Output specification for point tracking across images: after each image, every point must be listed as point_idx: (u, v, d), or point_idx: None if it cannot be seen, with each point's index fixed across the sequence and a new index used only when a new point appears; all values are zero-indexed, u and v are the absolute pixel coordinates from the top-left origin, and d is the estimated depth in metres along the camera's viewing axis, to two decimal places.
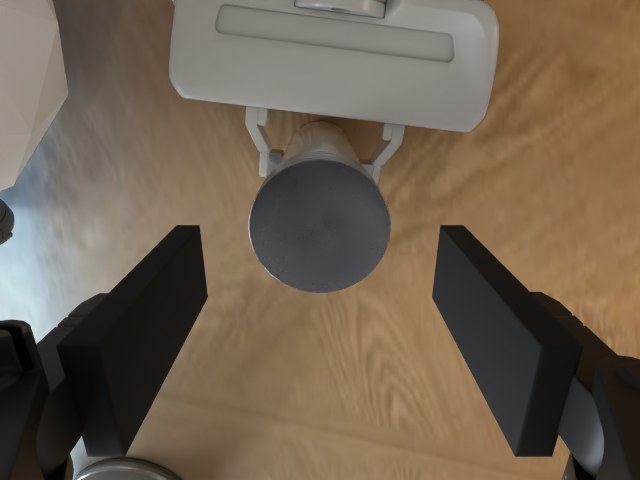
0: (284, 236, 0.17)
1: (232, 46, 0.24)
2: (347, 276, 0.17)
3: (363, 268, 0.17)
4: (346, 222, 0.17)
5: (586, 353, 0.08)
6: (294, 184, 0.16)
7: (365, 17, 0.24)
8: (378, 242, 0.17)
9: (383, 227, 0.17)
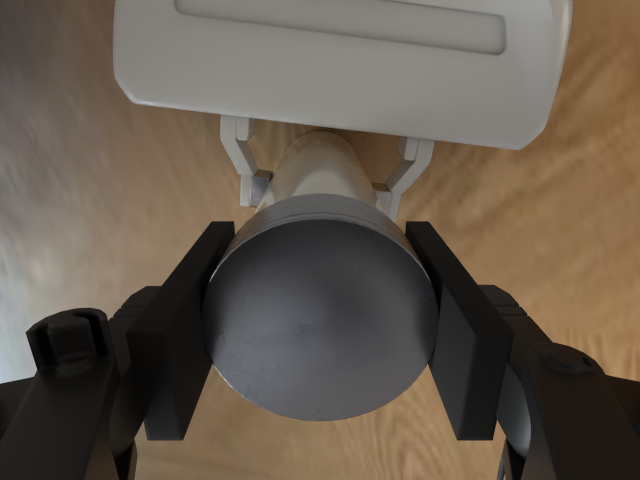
0: (262, 340, 0.10)
1: (199, 32, 0.17)
2: (365, 398, 0.11)
3: (391, 387, 0.11)
4: (366, 319, 0.10)
5: (524, 341, 0.08)
6: (276, 258, 0.09)
7: None
8: (417, 348, 0.10)
9: (427, 326, 0.10)
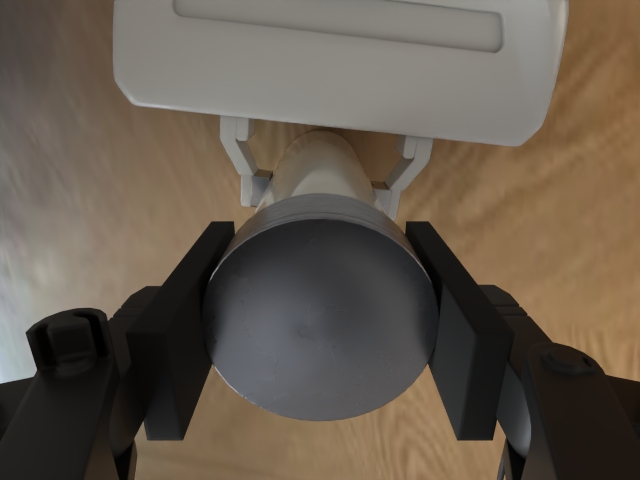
0: (349, 371, 0.10)
1: (197, 33, 0.17)
2: (387, 260, 0.09)
3: (362, 240, 0.09)
4: (289, 297, 0.10)
5: (524, 341, 0.08)
6: (264, 383, 0.11)
7: None
8: (303, 235, 0.09)
9: (272, 238, 0.09)
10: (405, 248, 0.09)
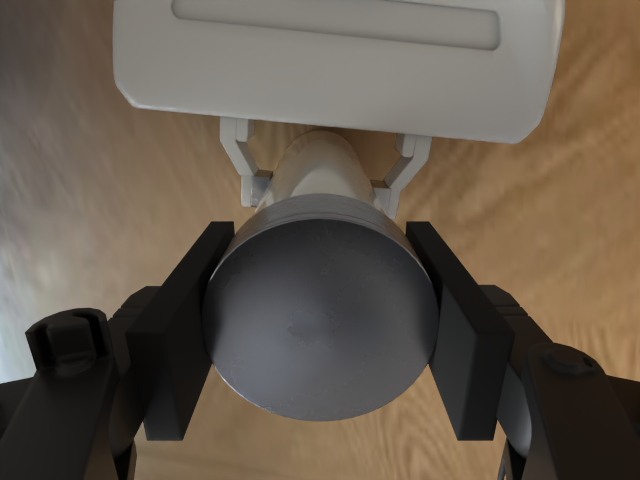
0: (357, 288, 0.10)
1: (196, 35, 0.18)
2: (223, 302, 0.10)
3: (215, 329, 0.10)
4: (295, 363, 0.10)
5: (525, 341, 0.08)
6: (400, 357, 0.10)
7: None
8: (234, 371, 0.10)
9: (248, 390, 0.11)
10: (205, 293, 0.10)
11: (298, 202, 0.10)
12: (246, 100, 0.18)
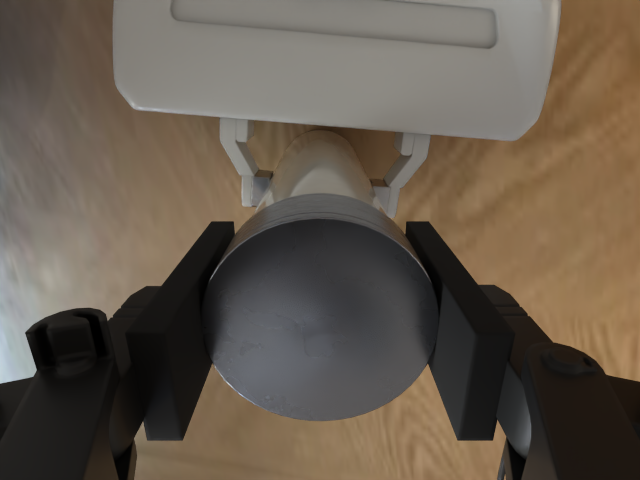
0: (262, 316, 0.10)
1: (195, 37, 0.18)
2: (323, 407, 0.11)
3: (352, 406, 0.11)
4: (366, 337, 0.10)
5: (525, 341, 0.08)
6: (320, 249, 0.09)
7: None
8: (394, 382, 0.11)
9: (413, 366, 0.10)
10: (320, 420, 0.11)
11: None
12: (245, 101, 0.19)
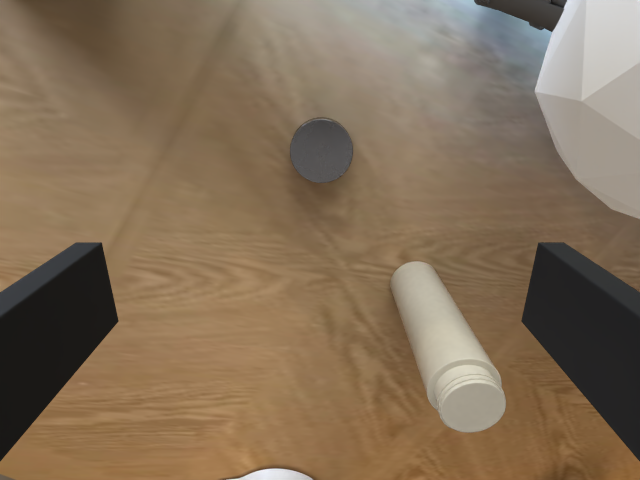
0: (322, 167, 0.38)
1: None
2: (345, 141, 0.37)
3: (342, 133, 0.37)
4: (319, 139, 0.37)
5: None
6: (299, 160, 0.38)
7: None
8: (330, 125, 0.37)
9: (323, 122, 0.37)
10: (350, 140, 0.37)
11: None
12: None
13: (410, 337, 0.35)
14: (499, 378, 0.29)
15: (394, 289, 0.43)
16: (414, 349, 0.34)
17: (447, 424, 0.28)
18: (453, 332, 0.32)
